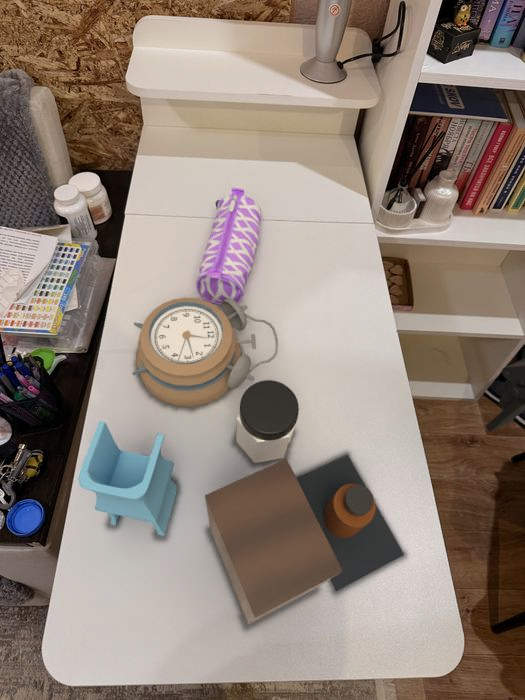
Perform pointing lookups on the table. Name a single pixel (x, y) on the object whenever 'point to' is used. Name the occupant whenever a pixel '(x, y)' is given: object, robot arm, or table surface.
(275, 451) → the jar
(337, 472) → the mat
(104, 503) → the blue doll chair
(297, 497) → the block
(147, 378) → the alarm clock
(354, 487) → the spice bottle
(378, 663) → the table surface
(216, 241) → the pencil case
